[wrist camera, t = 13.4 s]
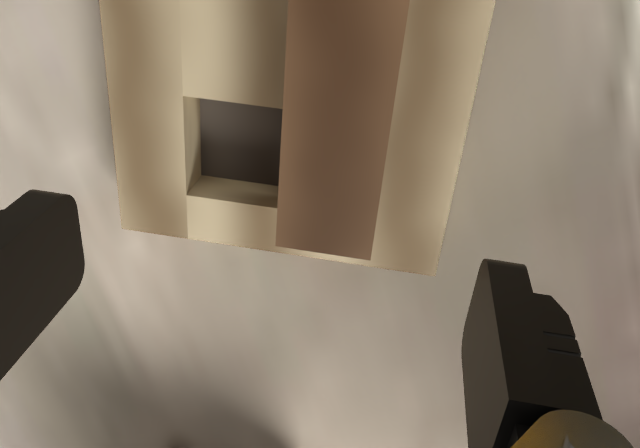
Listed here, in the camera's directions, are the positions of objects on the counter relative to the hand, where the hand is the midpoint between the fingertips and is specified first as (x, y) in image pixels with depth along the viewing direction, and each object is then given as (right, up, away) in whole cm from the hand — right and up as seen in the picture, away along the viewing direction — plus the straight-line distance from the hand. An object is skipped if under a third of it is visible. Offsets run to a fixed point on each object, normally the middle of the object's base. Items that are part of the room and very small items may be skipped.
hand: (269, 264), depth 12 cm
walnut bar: (+3, +9, +15) cm, 17 cm away
